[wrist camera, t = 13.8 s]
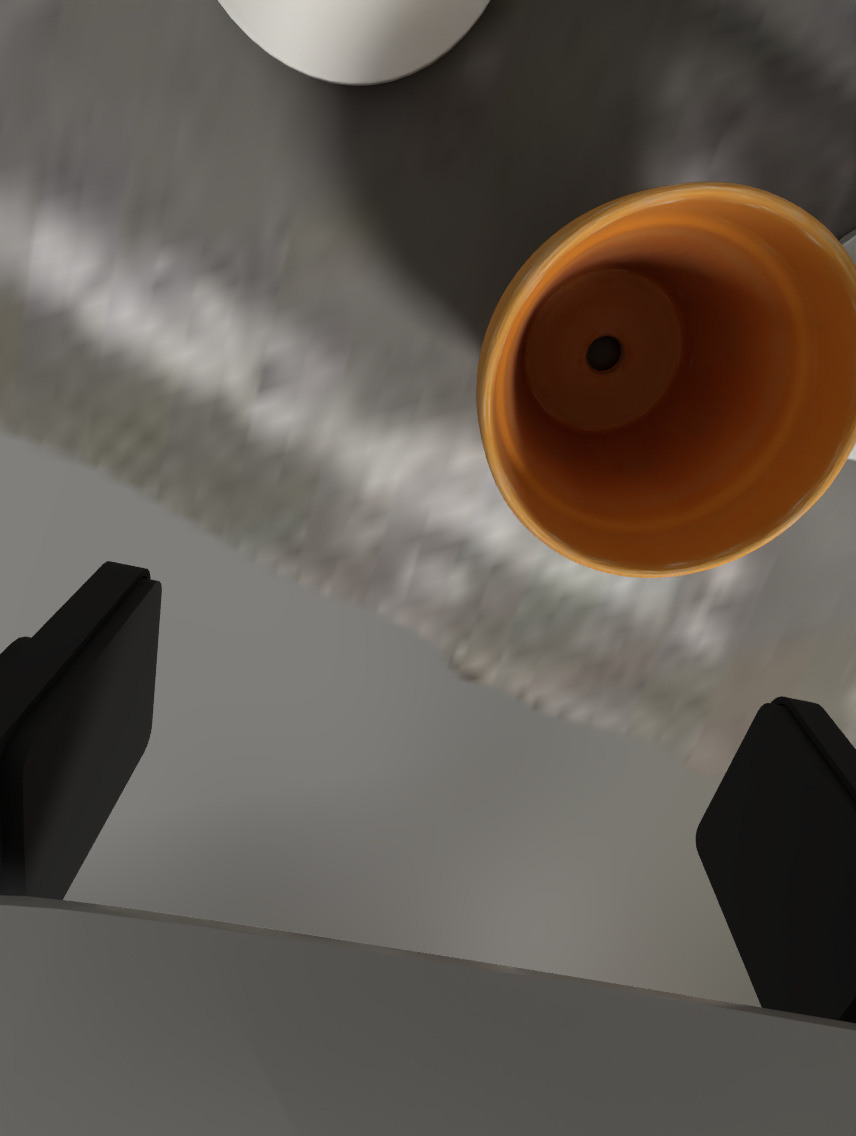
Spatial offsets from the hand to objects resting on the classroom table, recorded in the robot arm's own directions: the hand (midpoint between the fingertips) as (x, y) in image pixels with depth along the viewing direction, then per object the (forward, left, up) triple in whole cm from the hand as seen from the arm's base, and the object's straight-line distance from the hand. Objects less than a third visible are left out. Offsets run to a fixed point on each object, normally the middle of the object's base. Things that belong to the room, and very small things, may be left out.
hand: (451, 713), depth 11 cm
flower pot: (-8, -2, -30) cm, 31 cm away
